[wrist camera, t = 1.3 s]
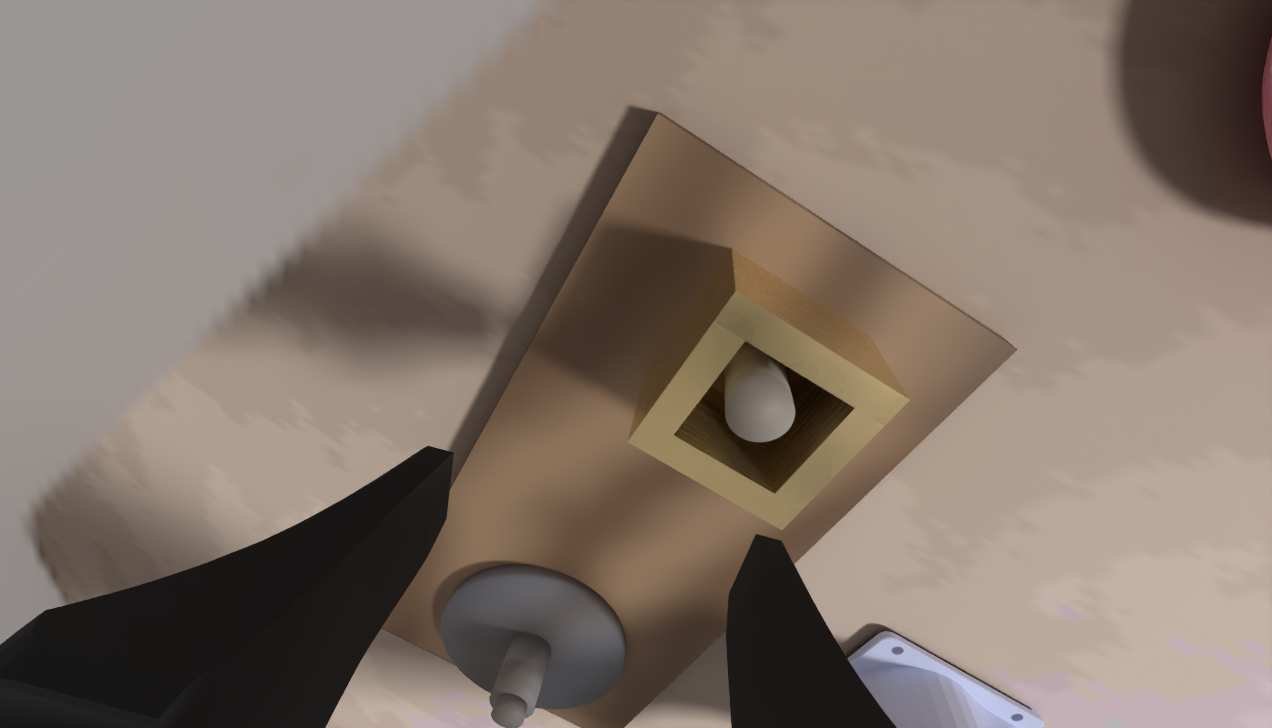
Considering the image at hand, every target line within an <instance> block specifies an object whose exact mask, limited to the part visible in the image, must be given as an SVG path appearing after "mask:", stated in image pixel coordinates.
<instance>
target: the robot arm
mask: <svg viewBox="0 0 1272 728" xmlns="http://www.w3.org/2000/svg"><path fill="white" fill-rule="evenodd" d="M453 454H454V453H453V452H449V451H446V450H442V449H438V448H434V447H431V446H427V447H425V448H423V449H422V450H420V451H419V452H417V453H415V454H414V455H412V456H411V457H409V458H408V459H406V460H405V461H403V462H402V463H400V464H399V465H397V466H396V467H394V468H393V469H391V470H390V471H388V472H387V473H385V474H383V475H382V476H380V477H379V478H377V479H376V480H374V481H372V482H371V483H369V484H367V485H366V486H364V487H363V488H361V489H359V490H358V491H356V492H354V493H353V494H351V495H349V496H348V497H346V498H344V499H343V500H341V501H339V502H337V503H335V504H334V505H332V506H330V507H328V508H326V509H324V510H323V511H321V512H319V513H317V514H315V515H314V516H312V517H310V518H308V519H306V520H304V521H302V522H300V523H298V524H296V525H294V526H292V527H290V528H288V529H286V530H284V531H282V532H280V533H278V534H276V535H273V536H271V537H269V538H267V539H265V540H263V541H260V542H258V543H256V544H253V545H251V546H248V547H246V548H243V549H241V550H238V551H236V552H233V553H230V554H228V555H225V556H223V557H220V558H218V559H215V560H213V561H210V562H208V563H205V564H202V565H200V566H197V567H194V568H191V569H188V570H185V571H182V572H179V573H176V574H173V575H170V576H167V577H164V578H161V579H158V580H155V581H152V582H148V583H145V584H142V585H139V586H135V587H132V588H129V589H125V590H122V591H118V592H114V593H111V594H107V595H103V596H99V597H96V598H92V599H88V600H84V601H81V602H77V603H73V604H69V605H65V606H62V607H57V608H53V609H50V610H46V611H44V612H43V613H41V614H40V615H38V616H37V617H36V618H34V619H33V620H32V621H30V622H29V623H28V624H26V625H25V626H24V627H22V628H21V629H20V630H18V631H17V632H16V633H15V634H13V635H12V636H11V637H10V638H8V639H7V640H6V641H5V642H3V643H2V644H1V645H0V728H325V727H326V725H327V723H328V721H329V719H330V717H331V715H332V714H333V712H334V710H335V708H336V706H337V704H338V702H339V700H340V698H341V696H342V695H343V693H344V691H345V689H346V687H347V685H348V683H349V681H350V680H351V678H352V676H353V674H354V672H355V670H356V668H357V666H358V665H359V663H360V661H361V659H362V658H363V656H364V654H365V653H366V651H367V649H368V648H369V646H370V645H371V643H372V641H373V640H374V638H375V637H376V635H377V634H378V632H379V631H380V629H381V628H382V626H383V625H384V623H385V622H386V620H387V619H388V617H389V616H390V614H391V612H392V611H393V609H394V608H395V606H396V605H397V603H398V602H399V600H400V599H401V597H402V596H403V594H404V593H405V591H406V590H407V588H408V587H409V585H410V584H411V582H412V581H413V579H414V577H415V576H416V574H417V573H418V571H419V570H420V568H421V567H422V565H423V564H424V562H425V560H426V559H427V557H428V555H429V553H430V551H431V549H432V547H433V545H434V543H435V541H436V539H437V537H438V535H439V533H440V531H441V529H442V527H443V525H444V523H445V521H446V519H447V511H448V502H449V492H450V483H451V473H452V464H453ZM726 644H727V662H728V678H729V693H730V708H731V723H732V728H1044V726H1045V724H1044V722H1043V720H1042V718H1041V716H1040V715H1039V714H1037V713H1035V712H1033V711H1032V710H1030V709H1028V708H1026V707H1024V706H1023V705H1021V704H1019V703H1017V702H1016V701H1014V700H1012V699H1010V698H1008V697H1007V696H1005V695H1003V694H1001V693H1000V692H998V691H996V690H994V689H992V688H991V687H989V686H987V685H985V684H984V683H982V682H980V681H978V680H976V679H975V678H973V677H971V676H969V675H968V674H966V673H964V672H962V671H960V670H959V669H957V668H955V667H953V666H952V665H950V664H948V663H946V662H944V661H943V660H941V659H939V658H937V657H936V656H934V655H932V654H930V653H928V652H927V651H925V650H923V649H921V648H920V647H918V646H916V645H914V644H912V643H911V642H909V641H907V640H905V639H904V638H902V637H900V636H898V635H896V634H895V633H892V632H888V631H884V632H881V633H879V634H877V635H876V636H875V637H874V638H872V639H871V640H870V641H869V642H867V643H866V644H865V645H864V646H862V647H861V648H860V649H859V650H857V651H856V652H855V653H853V654H852V655H851V656H850V657H848V658H847V657H846V656H845V654H844V653H843V651H842V650H841V648H840V646H839V645H838V643H837V642H836V640H835V638H834V637H833V635H832V633H831V632H830V630H829V628H828V626H827V625H826V623H825V621H824V619H823V618H822V616H821V614H820V612H819V611H818V609H817V607H816V605H815V603H814V602H813V600H812V598H811V596H810V594H809V592H808V590H807V588H806V587H805V585H804V583H803V581H802V579H801V577H800V575H799V573H798V571H797V569H796V567H795V565H794V563H793V561H792V560H791V558H790V556H789V554H788V552H787V550H786V548H785V546H784V544H783V542H782V541H781V540H777V539H774V538H770V537H766V536H762V535H759V534H756V535H755V537H754V539H753V541H752V543H751V546H750V548H749V550H748V552H747V555H746V557H745V559H744V561H743V563H742V566H741V568H740V570H739V572H738V574H737V577H736V579H735V581H734V583H733V586H732V588H731V590H730V592H729V596H728V611H727V630H726Z"/></svg>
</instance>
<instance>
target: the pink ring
mask: <svg viewBox="0 0 1272 728" xmlns="http://www.w3.org/2000/svg"><path fill="white" fill-rule="evenodd" d="M1262 111H1263V120H1264V126H1265V132H1266V138H1267V143H1268V148H1269V151H1270V155H1271V159H1272V38H1271V42H1270V45H1269V49H1268V53H1267V59H1266V64H1265V67H1264V74H1263V83H1262Z"/></svg>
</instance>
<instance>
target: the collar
mask: <svg viewBox="0 0 1272 728" xmlns="http://www.w3.org/2000/svg"><path fill="white" fill-rule="evenodd" d="M745 341H746V342H748V343H750V344H751V345H753V346H755V347H756V348H758V349H759V350H761V351H763V352H764V353H766V354H768V355H769V356H771V357H772V358H774V359H776V360H777V361H779V362H781V363H782V364H784V365H785V366H787V367H789V368H790V369H792V370H794V371H795V372H797V373H799V374H800V376H799V377H798V378H797V379H796V380H795V381H794V383H793V384H792V385H791V386H790V390H791V394H792V398H793V402H794V406H795V418H794V421H793V424H792V425H791V427H790V428H789V430H788V431H787V432H786V433H785V434H783V435H782V436H780V437H779V438H777V439H774V440H772V441H767V442H752V441H748V440H745V439H743V438H741V437H739V436H737V435H736V434H735V433H734V432H733V431H732V430H731V429H730V427H729V426H728V424H727V421H726V417H725V394H724V393H722V392H720V391H719V390H717V389H715V388H714V387H712V386H711V385H712V384H713V383H714V381H715V380H716V379H717V377H718V376H719V375H720V373H721V372H722V371H723V369H724V368H725V367H726V366H727V364H728V363H729V362H730V360H731V359H732V358H733V356H734V355H735V354H736V352H737V351H738V350H739V349H740V347H741V346H742V345H743V343H744V342H745ZM909 401H910V399H909V397H908V396H907V394H906V392H905V391H904V389H903V388H902V386H901V385H900V383H899V381H898V380H897V378H896V377H895V375H894V373H893V372H892V370H891V369H890V367H889V366H888V364H887V362H886V361H885V359H884V358H883V356H882V354H881V353H880V351H879V350H878V348H877V346H876V345H875V343H874V342H873V340H872V339H871V337H870V336H869V335H868V334H866V333H864V332H863V331H861V330H860V329H858V328H857V327H855V326H853V325H852V324H850V323H849V322H847V321H846V320H844V319H842V318H841V317H839V316H838V315H836V314H835V313H833V312H831V311H830V310H828V309H827V308H825V307H823V306H822V305H820V304H819V303H817V302H816V301H814V300H812V299H811V298H809V297H808V296H806V295H805V294H803V293H801V292H800V291H798V290H797V289H795V288H794V287H792V286H790V285H789V284H787V283H786V282H784V281H783V280H781V279H779V278H778V277H776V276H775V275H773V274H771V273H770V272H768V271H767V270H765V269H764V268H762V267H760V266H759V265H757V264H756V263H754V262H753V261H751V260H749V259H748V258H746V257H745V256H743V255H742V254H740V253H738V252H737V251H735V250H734V249H731V250H730V252H729V253H728V255H727V256H726V258H725V259H724V261H723V262H722V263H721V265H720V266H719V268H718V269H717V271H716V272H715V274H714V275H713V277H712V278H711V280H710V281H709V282H708V284H707V285H706V287H705V288H704V290H703V291H702V293H701V294H700V296H699V297H698V298H697V300H696V301H695V303H694V304H693V306H692V307H691V309H690V310H689V312H688V313H687V314H686V316H685V317H684V319H683V320H682V322H681V323H680V325H679V326H678V328H677V329H676V330H675V332H674V333H673V335H672V336H671V338H670V339H669V341H668V342H667V344H666V345H665V347H664V348H663V349H662V351H661V352H660V354H659V355H658V357H657V358H656V360H655V361H654V363H653V364H652V365H651V367H650V368H649V370H648V371H647V373H646V374H645V376H644V380H643V384H642V388H641V392H640V395H639V399H638V403H637V407H636V411H635V414H634V418H633V422H632V426H631V430H630V434H629V437H628V441H627V442H628V443H630V444H632V445H633V446H635V447H637V448H639V449H640V450H642V451H644V452H646V453H647V454H649V455H651V456H653V457H654V458H656V459H658V460H660V461H661V462H663V463H665V464H667V465H668V466H670V467H672V468H674V469H675V470H677V471H679V472H681V473H682V474H684V475H686V476H688V477H689V478H691V479H693V480H695V481H696V482H698V483H700V484H702V485H703V486H705V487H707V488H709V489H710V490H712V491H714V492H716V493H717V494H719V495H721V496H723V497H724V498H726V499H728V500H730V501H731V502H733V503H735V504H737V505H738V506H740V507H742V508H744V509H745V510H747V511H749V512H751V513H752V514H754V515H756V516H758V517H759V518H761V519H763V520H765V521H766V522H768V523H770V524H772V525H773V526H775V527H777V528H778V529H780V530H783V529H784V528H785V527H786V526H787V525H788V524H789V523H790V522H791V521H792V520H793V519H794V518H795V517H796V516H797V515H798V514H799V513H800V512H801V510H802V509H803V508H804V507H805V506H806V505H807V504H808V503H809V502H810V501H811V500H812V499H813V498H814V497H815V496H816V495H817V494H818V493H819V492H820V491H821V490H822V489H823V488H824V487H825V486H826V485H827V484H828V483H829V482H830V481H831V480H832V479H833V478H834V477H835V476H836V475H837V474H838V473H839V472H840V471H841V470H842V469H843V468H844V467H845V466H846V465H847V464H848V463H849V462H850V461H851V460H852V459H853V458H854V457H855V456H856V455H857V454H858V453H859V451H860V450H861V449H862V448H863V447H864V446H865V445H866V444H867V443H868V442H869V441H870V440H871V439H872V438H873V437H874V436H875V435H876V434H877V433H878V432H879V431H880V430H881V429H882V428H883V427H884V426H885V425H886V424H887V423H888V422H889V421H890V420H891V419H892V418H893V417H894V416H895V415H896V414H897V413H898V412H899V411H900V410H901V409H902V408H903V407H904V406H905V405H906V404H907V403H908V402H909Z"/></svg>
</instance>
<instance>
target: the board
mask: <svg viewBox="0 0 1272 728" xmlns="http://www.w3.org/2000/svg"><path fill="white" fill-rule="evenodd" d="M731 249H734V250H735V251H737V252H738V253H740V254H742V255H743V256H745V257H746V258H748V259H749V260H751V261H753V262H754V263H756V264H757V265H759V266H760V267H762V268H764V269H765V270H767V271H768V272H770V273H771V274H773V275H775V276H776V277H778V278H779V279H781V280H783V281H784V282H786V283H787V284H789V285H790V286H792V287H794V288H795V289H797V290H798V291H800V292H801V293H803V294H805V295H806V296H808V297H809V298H811V299H812V300H814V301H816V302H817V303H819V304H820V305H822V306H823V307H825V308H827V309H828V310H830V311H831V312H833V313H835V314H836V315H838V316H839V317H841V318H842V319H844V320H846V321H847V322H849V323H850V324H852V325H853V326H855V327H857V328H858V329H860V330H861V331H863V332H864V333H866V334H868V335H869V336H870V337H871V339H872V340H873V342H874V343H875V345H876V346H877V348H878V350H879V351H880V353H881V354H882V356H883V358H884V359H885V361H886V362H887V364H888V366H889V367H890V369H891V370H892V372H893V373H894V375H895V377H896V378H897V380H898V381H899V383H900V385H901V386H902V388H903V389H904V391H905V392H906V394H907V396H908V397H909V399H910V401H909V402H908V403H907V404H906V405H905V406H904V407H903V408H902V409H901V410H900V411H899V412H898V413H897V414H896V415H895V416H894V417H893V418H892V419H891V420H890V421H889V422H888V423H887V424H886V425H885V426H884V427H883V428H882V429H881V430H880V431H879V432H878V433H877V434H876V435H875V436H874V437H873V438H872V439H871V440H870V441H869V442H868V443H867V444H866V445H865V446H864V447H863V448H862V449H861V450H860V451H859V453H858V454H857V455H856V456H855V457H854V458H853V459H852V460H851V461H850V462H849V463H848V464H847V465H846V466H845V467H844V468H843V469H842V470H841V471H840V472H839V473H838V474H837V475H836V476H835V477H834V478H833V479H832V480H831V481H830V482H829V483H828V484H827V485H826V486H825V487H824V488H823V489H822V490H821V491H820V492H819V493H818V494H817V495H816V496H815V497H814V498H813V499H812V500H811V501H810V502H809V503H808V504H807V505H806V506H805V507H804V508H803V509H802V510H801V512H800V513H799V514H798V515H797V516H796V517H795V518H794V519H793V520H792V521H791V522H790V523H789V524H788V525H787V526H786V527H785V528H784V529H783V530H780V529H778V528H777V527H775V526H773V525H772V524H770V523H768V522H766V521H765V520H763V519H761V518H759V517H758V516H756V515H754V514H752V513H751V512H749V511H747V510H745V509H744V508H742V507H740V506H738V505H737V504H735V503H733V502H731V501H730V500H728V499H726V498H724V497H723V496H721V495H719V494H717V493H716V492H714V491H712V490H710V489H709V488H707V487H705V486H703V485H702V484H700V483H698V482H696V481H695V480H693V479H691V478H689V477H688V476H686V475H684V474H682V473H681V472H679V471H677V470H675V469H674V468H672V467H670V466H668V465H667V464H665V463H663V462H661V461H660V460H658V459H656V458H654V457H653V456H651V455H649V454H647V453H646V452H644V451H642V450H640V449H639V448H637V447H635V446H633V445H632V444H630V443H628V442H627V441H628V437H629V434H630V430H631V426H632V422H633V418H634V414H635V411H636V407H637V403H638V399H639V395H640V392H641V388H642V384H643V380H644V376H645V374H646V373H647V371H648V370H649V368H650V367H651V365H652V364H653V363H654V361H655V360H656V358H657V357H658V355H659V354H660V352H661V351H662V349H663V348H664V347H665V345H666V344H667V342H668V341H669V339H670V338H671V336H672V335H673V333H674V332H675V330H676V329H677V328H678V326H679V325H680V323H681V322H682V320H683V319H684V317H685V316H686V314H687V313H688V312H689V310H690V309H691V307H692V306H693V304H694V303H695V301H696V300H697V298H698V297H699V296H700V294H701V293H702V291H703V290H704V288H705V287H706V285H707V284H708V282H709V281H710V280H711V278H712V277H713V275H714V274H715V272H716V271H717V269H718V268H719V266H720V265H721V263H722V262H723V261H724V259H725V258H726V256H727V255H728V253H729V252H730V250H731ZM1016 350H1017V349H1016V348H1015V347H1014V346H1013V345H1011V344H1010V343H1009V342H1008V341H1007V340H1006V339H1004V338H1003V337H1002V336H1000V335H999V334H997V333H995V332H994V331H992V330H991V329H989V328H988V327H986V326H985V325H983V324H982V323H980V322H979V321H977V320H976V319H974V318H973V317H971V316H970V315H968V314H967V313H965V312H963V311H962V310H960V309H959V308H957V307H956V306H954V305H953V304H951V303H950V302H948V301H947V300H945V299H944V298H942V297H941V296H939V295H938V294H936V293H935V292H933V291H931V290H930V289H928V288H927V287H925V286H924V285H922V284H921V283H919V282H918V281H916V280H915V279H913V278H912V277H910V276H909V275H907V274H906V273H904V272H903V271H901V270H899V269H898V268H896V267H895V266H893V265H892V264H890V263H889V262H887V261H886V260H884V259H883V258H881V257H880V256H878V255H877V254H875V253H874V252H872V251H871V250H869V249H867V248H866V247H864V246H863V245H861V244H860V243H858V242H857V241H855V240H854V239H852V238H851V237H849V236H848V235H846V234H845V233H843V232H842V231H840V230H839V229H837V228H835V227H834V226H832V225H831V224H829V223H828V222H826V221H825V220H823V219H822V218H820V217H819V216H817V215H816V214H814V213H813V212H811V211H810V210H808V209H807V208H805V207H804V206H802V205H800V204H799V203H797V202H796V201H794V200H793V199H791V198H790V197H788V196H787V195H785V194H784V193H782V192H781V191H779V190H778V189H776V188H775V187H773V186H772V185H770V184H768V183H767V182H765V181H764V180H762V179H761V178H759V177H758V176H756V175H755V174H753V173H752V172H750V171H749V170H747V169H746V168H744V167H743V166H741V165H740V164H738V163H736V162H735V161H733V160H732V159H730V158H729V157H727V156H726V155H724V154H723V153H721V152H720V151H718V150H717V149H715V148H714V147H712V146H711V145H709V144H708V143H706V142H704V141H703V140H701V139H700V138H698V137H697V136H695V135H694V134H692V133H691V132H689V131H688V130H686V129H685V128H683V127H682V126H680V125H679V124H677V123H676V122H674V121H672V120H671V119H669V118H668V117H666V116H665V115H663V114H662V113H658V114H657V116H656V118H655V120H654V121H653V123H652V125H651V127H650V129H649V130H648V132H647V134H646V136H645V138H644V139H643V141H642V143H641V145H640V147H639V148H638V150H637V152H636V154H635V156H634V158H633V159H632V161H631V163H630V165H629V167H628V168H627V170H626V172H625V174H624V176H623V177H622V179H621V181H620V183H619V185H618V187H617V188H616V190H615V192H614V194H613V196H612V197H611V199H610V201H609V203H608V205H607V206H606V208H605V210H604V212H603V214H602V216H601V217H600V219H599V221H598V223H597V225H596V226H595V228H594V230H593V232H592V234H591V235H590V237H589V239H588V241H587V243H586V244H585V246H584V248H583V250H582V252H581V254H580V255H579V257H578V259H577V261H576V263H575V264H574V266H573V268H572V270H571V272H570V273H569V275H568V277H567V279H566V281H565V283H564V284H563V286H562V288H561V290H560V292H559V293H558V295H557V297H556V299H555V301H554V302H553V304H552V306H551V308H550V310H549V312H548V313H547V315H546V317H545V319H544V321H543V322H542V324H541V326H540V328H539V330H538V331H537V333H536V335H535V337H534V339H533V340H532V342H531V344H530V346H529V348H528V350H527V351H526V353H525V355H524V357H523V359H522V360H521V362H520V364H519V366H518V368H517V369H516V371H515V373H514V375H513V377H512V379H511V380H510V382H509V384H508V386H507V388H506V389H505V391H504V393H503V395H502V397H501V398H500V400H499V402H498V404H497V406H496V408H495V409H494V411H493V413H492V415H491V417H490V418H489V420H488V422H487V424H486V426H485V427H484V429H483V431H482V433H481V435H480V436H479V438H478V440H477V442H476V444H475V446H474V447H473V449H472V451H471V453H470V455H469V456H468V458H467V460H466V462H465V464H464V465H463V467H462V469H461V471H460V473H459V475H458V476H457V478H456V480H455V482H454V484H453V485H452V487H451V489H450V492H449V502H448V511H447V519H446V521H445V523H444V525H443V527H442V529H441V531H440V533H439V535H438V537H437V539H436V541H435V543H434V545H433V547H432V549H431V551H430V553H429V555H428V557H427V559H426V560H425V562H424V564H423V565H422V567H421V568H420V570H419V571H418V573H417V574H416V576H415V577H414V579H413V581H412V582H411V584H410V585H409V587H408V588H407V590H406V591H405V593H404V594H403V596H402V597H401V599H400V600H399V602H398V603H397V605H396V606H395V608H394V609H393V611H392V612H391V614H390V616H389V617H388V619H387V620H386V622H385V623H384V625H383V626H382V629H384V630H386V631H388V632H390V633H392V634H394V635H396V636H398V637H400V638H402V639H404V640H406V641H408V642H410V643H412V644H414V645H416V646H418V647H420V648H422V649H424V650H426V651H428V652H430V653H432V654H434V655H436V656H438V657H440V658H442V659H444V660H446V661H448V662H450V663H452V664H454V665H456V666H457V667H458V668H459V670H460V671H461V672H462V673H463V674H464V675H465V676H467V677H468V678H469V679H470V680H471V681H473V682H474V683H475V684H477V685H478V686H480V687H481V688H483V689H484V690H486V691H488V692H490V693H491V696H490V704H491V706H492V707H493V710H492V713H491V716H492V719H493V720H494V721H495V722H496V723H497V724H499V725H500V726H503V727H506V728H518V727H520V726H521V725H522V724H523V721H524V718H527V717H529V716H531V715H532V714H533V712H534V709H535V708H542V709H545V710H547V711H549V712H551V713H553V714H555V715H557V716H559V717H561V718H563V719H565V720H567V721H569V722H571V723H573V724H575V725H577V726H579V727H581V728H624V727H625V726H626V725H627V724H628V723H629V722H630V721H631V720H632V719H633V718H634V717H636V716H637V715H638V714H639V713H640V712H641V711H642V710H643V709H644V708H645V707H646V706H647V705H648V704H649V703H650V702H651V701H652V700H653V699H654V698H655V697H656V696H657V695H658V694H659V693H661V692H662V691H663V690H664V689H665V688H666V687H667V686H668V685H669V684H670V683H671V682H672V681H673V680H674V679H675V678H676V677H677V676H678V675H679V674H680V673H681V672H682V671H683V670H684V669H685V668H687V667H688V666H689V665H690V664H691V663H692V662H693V661H694V660H695V659H696V658H697V657H698V656H699V655H700V654H701V653H702V652H703V651H704V650H705V649H706V648H707V647H708V646H709V645H710V644H712V643H713V642H714V641H715V640H716V639H717V638H718V637H719V636H720V635H721V634H722V633H723V632H724V631H725V630H726V629H727V611H728V596H729V592H730V590H731V588H732V586H733V583H734V581H735V579H736V577H737V574H738V572H739V570H740V568H741V566H742V563H743V561H744V559H745V557H746V555H747V552H748V550H749V548H750V546H751V543H752V541H753V539H754V537H755V535H756V534H759V535H762V536H766V537H770V538H774V539H777V540H781V541H782V542H783V544H784V546H785V548H786V550H787V552H788V554H789V556H790V558H791V560H792V561H793V563H794V564H795V563H796V562H797V561H798V560H799V559H800V558H801V557H802V556H803V555H804V554H805V553H806V552H807V551H808V550H809V549H810V548H811V547H812V546H813V545H815V544H816V543H817V542H818V541H819V540H820V539H821V538H822V537H823V536H824V535H825V534H826V533H827V532H828V531H829V530H830V529H831V528H832V527H833V526H834V525H835V524H836V523H837V522H838V521H840V520H841V519H842V518H843V517H844V516H845V515H846V514H847V513H848V512H849V511H850V510H851V509H852V508H853V507H854V506H855V505H856V504H857V503H858V502H859V501H860V500H861V499H862V498H863V497H864V496H866V495H867V494H868V493H869V492H870V491H871V490H872V489H873V488H874V487H875V486H876V485H877V484H878V483H879V482H880V481H881V480H882V479H883V478H884V477H885V476H886V475H887V474H888V473H889V472H891V471H892V470H893V469H894V468H895V467H896V466H897V465H898V464H899V463H900V462H901V461H902V460H903V459H904V458H905V457H906V456H907V455H908V454H909V453H910V452H911V451H912V450H913V449H914V448H915V447H917V446H918V445H919V444H920V443H921V442H922V441H923V440H924V439H925V438H926V437H927V436H928V435H929V434H930V433H931V432H932V431H933V430H934V429H935V428H936V427H937V426H938V425H939V424H940V423H941V422H943V421H944V420H945V419H946V418H947V417H948V416H949V415H950V414H951V413H952V412H953V411H954V410H955V409H956V408H957V407H958V406H959V405H960V404H961V403H962V402H963V401H964V400H965V399H966V398H968V397H969V396H970V395H971V394H972V393H973V392H974V391H975V390H976V389H977V388H978V387H979V386H980V385H981V384H982V383H983V382H984V381H985V380H986V379H987V378H988V377H989V376H990V375H991V374H992V373H994V372H995V371H996V370H997V369H998V368H999V367H1000V366H1001V365H1002V364H1003V363H1004V362H1005V361H1006V360H1007V359H1008V358H1009V357H1010V356H1011V355H1012V354H1013V353H1014V352H1015V351H1016ZM799 376H800V374H799V373H797V372H795V371H794V370H792V369H790V368H789V367H787V366H785V365H784V364H782V363H781V362H779V361H777V360H776V359H774V358H772V357H771V356H769V355H768V354H766V353H764V352H763V351H761V350H759V349H758V348H756V347H755V346H753V345H751V344H750V343H748V342H746V341H745V342H744V343H743V345H742V346H741V347H740V349H739V350H738V351H737V352H736V354H735V355H734V356H733V358H732V359H731V360H730V362H729V363H728V364H727V366H726V367H725V368H724V369H723V371H722V372H721V373H720V375H719V376H718V377H717V379H716V380H715V381H714V383H713V384H712V385H711V386H712V387H714V388H715V389H717V390H719V391H720V392H722V393H724V394H725V417H726V421H727V424H728V426H729V427H730V429H731V430H732V431H733V432H734V433H735V434H736V435H737V436H739V437H741V438H743V439H745V440H748V441H752V442H767V441H772V440H774V439H777V438H779V437H780V436H782V435H783V434H785V433H786V432H787V431H788V430H789V428H790V427H791V425H792V424H793V421H794V418H795V406H794V402H793V398H792V394H791V390H790V386H791V385H792V384H793V383H794V381H795V380H796V379H797V378H798V377H799Z"/></svg>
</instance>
